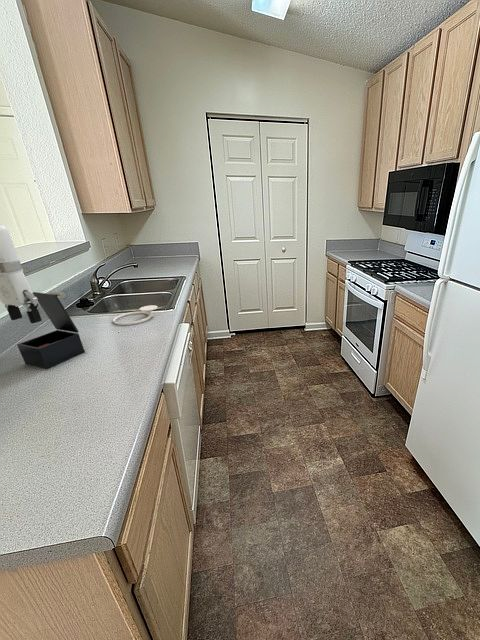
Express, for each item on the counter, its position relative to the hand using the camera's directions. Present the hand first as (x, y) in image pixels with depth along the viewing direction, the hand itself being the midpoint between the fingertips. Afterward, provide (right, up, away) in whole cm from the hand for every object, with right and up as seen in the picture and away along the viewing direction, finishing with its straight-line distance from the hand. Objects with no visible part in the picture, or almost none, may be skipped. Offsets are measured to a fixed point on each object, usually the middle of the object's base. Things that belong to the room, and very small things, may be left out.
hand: (26, 320), depth 110 cm
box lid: (+3, +4, +9) cm, 10 cm away
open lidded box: (+1, -12, +12) cm, 17 cm away
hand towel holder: (+12, +7, +49) cm, 51 cm away
